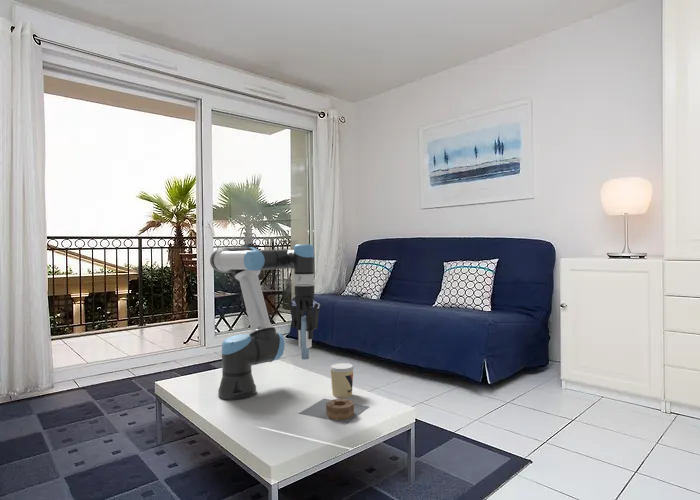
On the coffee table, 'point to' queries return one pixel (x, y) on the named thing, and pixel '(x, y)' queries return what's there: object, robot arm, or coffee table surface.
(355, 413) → the mat
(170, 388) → the coffee table surface
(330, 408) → the bead
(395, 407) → the coffee table surface
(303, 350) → the blue rounded-end rod
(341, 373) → the coffee cup
